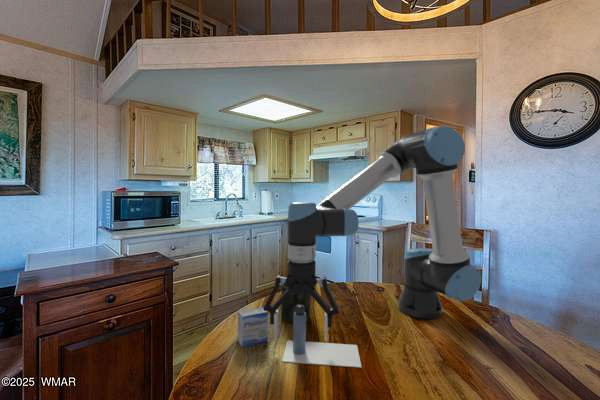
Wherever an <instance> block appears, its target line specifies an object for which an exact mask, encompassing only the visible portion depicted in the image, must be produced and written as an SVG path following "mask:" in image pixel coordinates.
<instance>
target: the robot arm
mask: <svg viewBox="0 0 600 400" xmlns="http://www.w3.org/2000/svg"><path fill="white" fill-rule="evenodd" d="M465 144H466V143H465V141H464V138H463V136H462V135H461V133H460V132H459V131H457V130H456V129H455V128H454V127H451V126H449V125H440V126H433V127H430V128H428V129H423V130H420V131H417V132H412V133H409V134H406V135H404V136H402V137H401V138H400V139H398V140H397V141H395V142H394V143H392V144H391V145H390V146H389V147H388V148H387V147H386V149H385V150H384V151H382V152H381V153H380V154H379V155H378V159H376V160H375V161H374V162H372V163H371V164H370V165H368V166H367V167H366V168H364V169H363V170H362V171H360V172H359V173H358V174H356V175H355V176H354V177H353V178H352V179H350V180H349V181H347V182H346V183H344V184H343V185H342V186H340V187H339V188H338V189H337V190H335V191H334V192H333V193H331V194H330V195H328V196H327V197H326V198H324V199H323V200H322V201H320V202H319V203H317V204H316V203H315V202H313V201H310V202H309V201H294V202H293V201H292V202H291V203H290V204H289V205H288V211H287V213H288V214H287V259H288V261H287V276H286V277H284V276H282V275H280V274H278V275H277V276H276V278H275V281H274V287H273V289H272V291H271V293H270V295H269V296H268V298H267V300H266V301H265V304H264V306H263V307H264V308H263V309H264V311H267V312H268V313H269V315H270V316H269V323H270V325H273V339H278V338H277V337H278V335H279V310H278V309H279V308H280V307H281V306H282V303H283V302H284V301H285V300H286V299H287V298H288V296H290V295H291V294H292V292H293V293H294V294H295V295H299V294H302V295H307V294H310V295H311V298H313V299H314V300H315V302H317V304H318V305H319V306H320V308H321V309H322V310H323V312H324V341H326V342H327V341H328V331H329V330H328V328H332V325H333V316H334V315H339V313H340V310H339V306H338V304H337V302H336V299H335V297H334V295H333V293H332V292H331V289H330V287H329V285H328V279H327V276H322V278H321V277H320V278H317V277H316V276H317V275H316V267H317V266H316V263H317V262H316V261H315V259H316V255H317V253H316V252H317V238H322V237H325V238H326V237H348V236H353V235H355V234H356V233H357V232H358V229H359V223H360V222H359V217H358V214H357V212H356V210H354V209H353V207H354V206H355V205H357V204H358V203H360V202H361V201H362V200H364V199H365V198H366V197H367V196H368V195H370V194H371V193H372V192H374V191H375V190H376V189H377V188H379V187H380V186H382V185H383V184H384V183H385V182H387V181H388V180H389V179H390V178H392V177H397V176H399V175H401V174H402V173H403V172H405V171H408V170H412V169H415V170H416V176H418V177H419V178H420V179H422V182H423V183H422V184H423V190H424V197H425V204H426V210H427V211H426V213H427V218H428V225H429V232H430V240H431V246H432V248H423V247H418V248H407V249H406V250H405V253H404V258H403V261H404V264H403V267H404V268H403V289H402V291H401V293H400V296H399V298H398V301H397V302H398V303H397V309H399V311H400V312H401V313H403V314H405V315H407V316H410V317H412V318H417V319H423V320H437V319H439V317H440V318H441V317H442V316H443V306H442V303H441V300H440V295H439V294H441V295H444V296H446V297H447V298H449V299H453V300H456V301H460V302H464V301H468V300H470V299H472V298H473V297H474V296H475V295H476V294H477V292H478V290H479V289H480V287H481V284H482V274H481V271H480V270H479V268H478V267H476V266H475V265H473V264H471V260H470V259H471V258H470V254H469V253H468V252H467V251H465V250H464V247H463V239H462V233H461V226H460V225H461V224H460V217H459V209H458V202H457V194H456V186H455V185H456V184H455V180H454V179H455V178H454V176H455V173H456V172H457V171H458V170H459V166H458V165H459V164H458V163H460V162H461V161H462V160H463V158H464V155H465V152H466V145H465ZM284 282H286V284H287V285H288V289H287V290H286V291H285V292H284V293H283V294H282V293H281V295H280V296H279V298H278V299H277V300H276V301H275V302H274V303H273V304H272V301H274V300H273V299H274V298H275V296H276V294H277V292H278V290H279V288H280V286H281V285H283V283H284ZM317 284H318V285H319V286H320V287H321V288H322V289H323V293H324V294H325V296H326V298H327V301H328V302H329V304H330V305H329V304H328V303H327V302H326V301H325V299H324V298H323V297H322V296H321V294H320V293H319V292H318V290H317V289H316V285H317ZM271 304H272V305H271ZM441 315H442V316H441ZM436 318H437V319H436Z"/></svg>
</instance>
